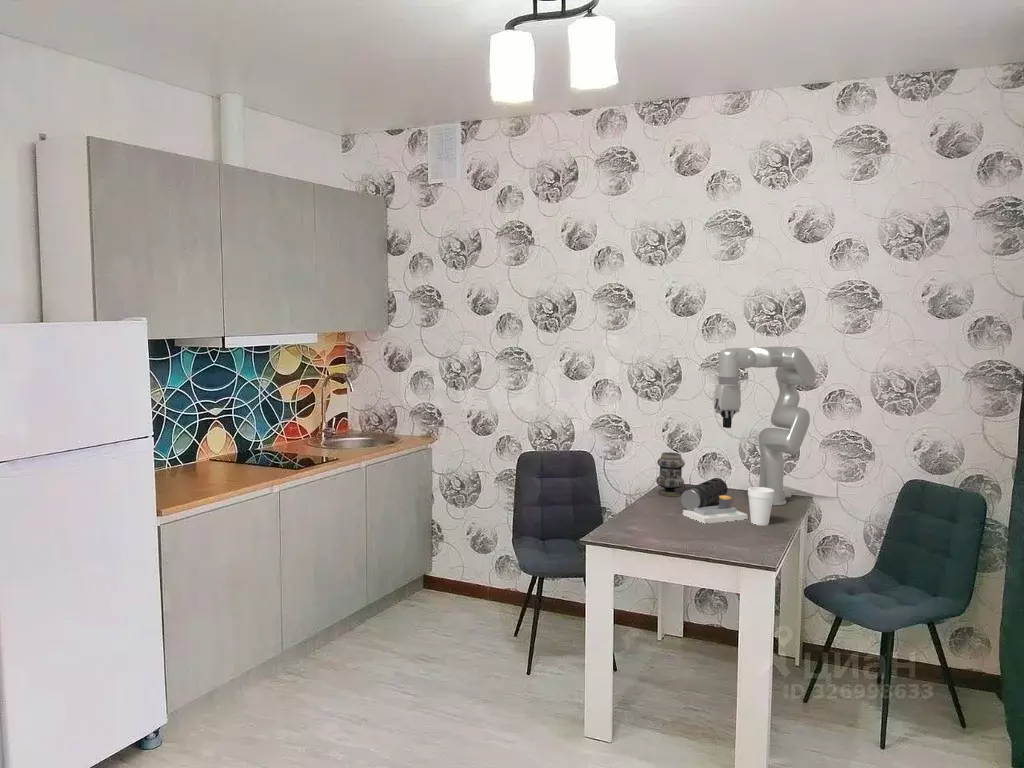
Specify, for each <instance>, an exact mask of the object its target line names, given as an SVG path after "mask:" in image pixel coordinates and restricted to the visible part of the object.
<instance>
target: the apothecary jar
mask: <svg viewBox="0 0 1024 768" xmlns="http://www.w3.org/2000/svg"><path fill="white" fill-rule="evenodd" d="M657 465H658V466H659V472H658V473H659V475H658V476H657V478H656V481H655V482H656V484H657V485H658V486H659V487H661V488H664V489H663V490H661V491H658V495H661V496H664V497H679V496H682V493H681V492H680V491H678V490H676V489H680V488H681V487H683V486H684V485H685V479H684V478H682V474H683V473H682V471H683V467H684V466H685V465H686V463H685V461H684V459H683V458H682V454H681V453H678V452H672V451H671V452H670V451H669V452H668V451H666V452H662V453H661V456H660V457H659V458H658V459H657Z"/></svg>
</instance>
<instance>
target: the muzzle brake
mask: <svg viewBox="0 0 1024 768" xmlns="http://www.w3.org/2000/svg"><path fill="white" fill-rule="evenodd" d="M727 494H728V485H727V483H726V481H725V480H723V479H721V478H720V477H714V478H711V479H708V480H705V481H704V482H701V483H699V484H695V485H692V486H689V487H687V488H685V489H684V490H683V491H682V493H681V495H680V496H681V497H680V502H681V505H682V507H683V508H685V510H690V511H693V510H694V508H698V507H709V506H712V505H713V504H715V503H717V502H719V496H723V495H726V496H727Z"/></svg>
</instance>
